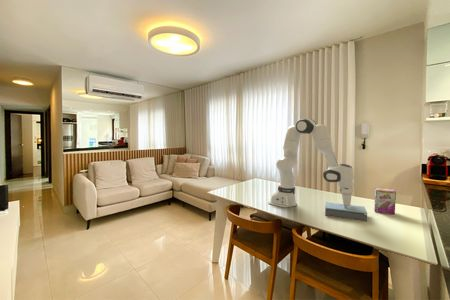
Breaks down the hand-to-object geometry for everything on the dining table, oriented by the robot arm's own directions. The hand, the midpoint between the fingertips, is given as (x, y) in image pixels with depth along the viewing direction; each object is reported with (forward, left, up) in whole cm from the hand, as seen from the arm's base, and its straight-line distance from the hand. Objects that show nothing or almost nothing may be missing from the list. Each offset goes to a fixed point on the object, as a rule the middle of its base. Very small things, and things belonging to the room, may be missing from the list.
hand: (345, 207), depth 138 cm
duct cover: (-1, +2, -1) cm, 2 cm away
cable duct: (-1, +1, -6) cm, 6 cm away
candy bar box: (+24, +17, -6) cm, 30 cm away
